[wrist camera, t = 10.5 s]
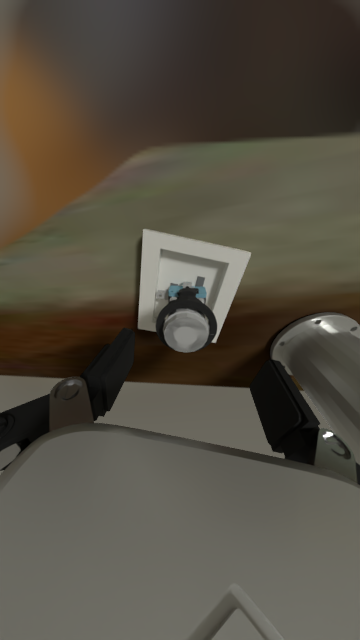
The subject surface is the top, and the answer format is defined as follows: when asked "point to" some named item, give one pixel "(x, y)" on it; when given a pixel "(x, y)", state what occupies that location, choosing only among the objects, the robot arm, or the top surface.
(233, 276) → the socket plate
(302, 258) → the top surface
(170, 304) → the push button
